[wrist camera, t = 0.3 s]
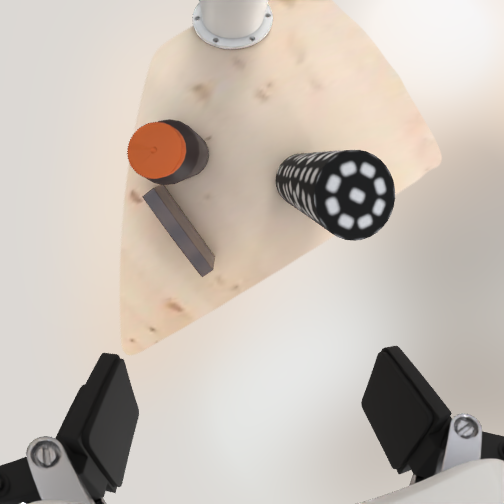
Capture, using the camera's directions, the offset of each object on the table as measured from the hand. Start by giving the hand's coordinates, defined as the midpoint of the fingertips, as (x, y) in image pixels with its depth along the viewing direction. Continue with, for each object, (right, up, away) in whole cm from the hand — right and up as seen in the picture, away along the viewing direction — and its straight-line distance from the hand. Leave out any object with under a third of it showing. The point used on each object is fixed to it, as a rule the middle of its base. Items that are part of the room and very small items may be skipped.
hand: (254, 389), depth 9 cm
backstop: (-11, +9, +35) cm, 37 cm away
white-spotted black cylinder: (+8, +16, +34) cm, 38 cm away
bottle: (-10, +19, +32) cm, 38 cm away
